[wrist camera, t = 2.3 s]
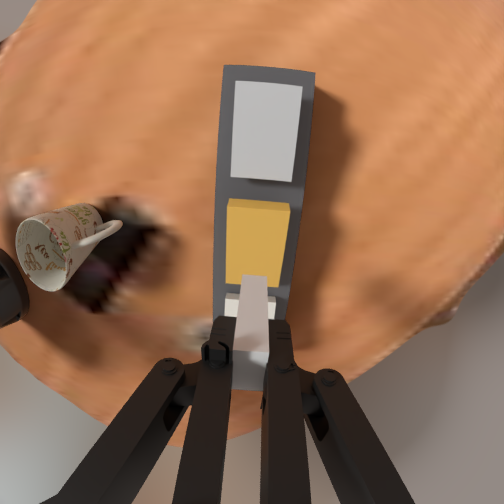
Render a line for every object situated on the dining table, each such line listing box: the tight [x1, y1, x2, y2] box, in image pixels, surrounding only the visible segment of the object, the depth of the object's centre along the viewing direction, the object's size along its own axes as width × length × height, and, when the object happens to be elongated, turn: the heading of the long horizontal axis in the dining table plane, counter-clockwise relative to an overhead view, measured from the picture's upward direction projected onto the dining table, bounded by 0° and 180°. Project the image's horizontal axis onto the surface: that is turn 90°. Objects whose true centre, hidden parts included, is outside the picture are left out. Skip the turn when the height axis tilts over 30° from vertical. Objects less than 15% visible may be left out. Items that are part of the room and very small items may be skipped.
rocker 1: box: [231, 81, 303, 182], centre depth 21 cm, size 5×8×2 cm, turn 176°
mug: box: [16, 203, 123, 292], centre depth 26 cm, size 8×13×10 cm, turn 101°
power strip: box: [213, 65, 315, 322], centre depth 29 cm, size 8×38×5 cm, turn 176°
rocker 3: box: [224, 293, 276, 319], centre depth 29 cm, size 5×8×2 cm, turn 176°
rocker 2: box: [226, 198, 290, 287], centre depth 25 cm, size 5×8×2 cm, turn 176°
